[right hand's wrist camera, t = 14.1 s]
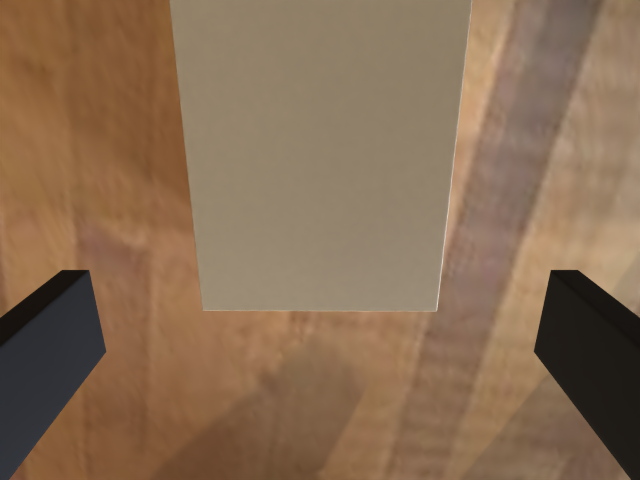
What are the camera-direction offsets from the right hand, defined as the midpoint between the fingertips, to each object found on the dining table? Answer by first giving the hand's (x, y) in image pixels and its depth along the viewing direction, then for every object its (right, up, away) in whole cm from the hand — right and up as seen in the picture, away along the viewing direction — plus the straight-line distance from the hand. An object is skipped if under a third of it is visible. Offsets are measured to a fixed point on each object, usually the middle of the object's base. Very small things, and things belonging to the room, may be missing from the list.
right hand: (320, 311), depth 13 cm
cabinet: (0, +11, +13) cm, 17 cm away
